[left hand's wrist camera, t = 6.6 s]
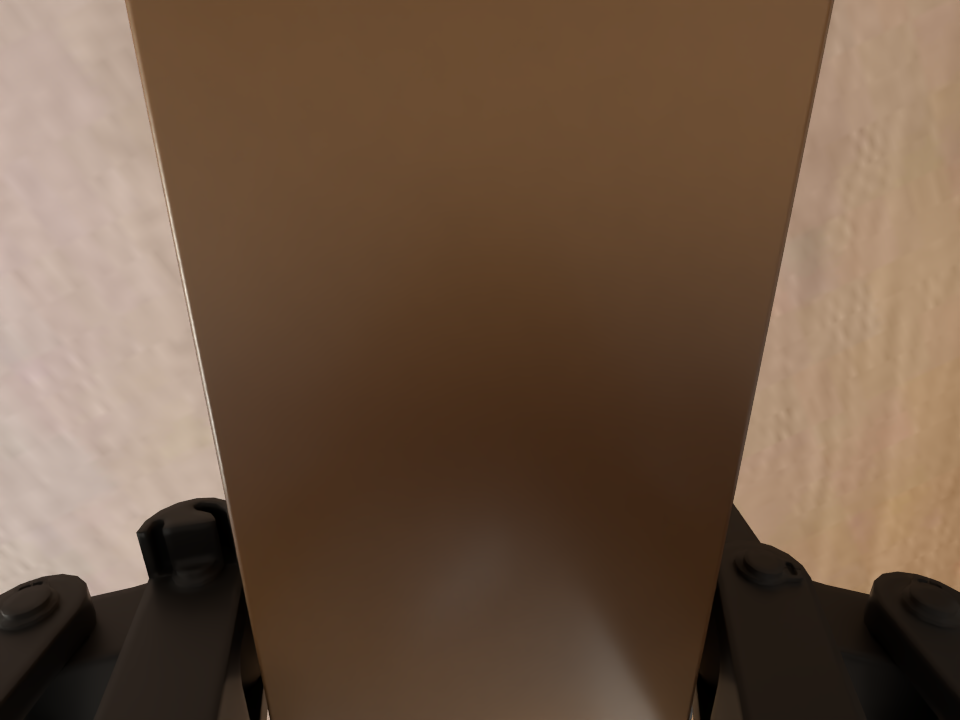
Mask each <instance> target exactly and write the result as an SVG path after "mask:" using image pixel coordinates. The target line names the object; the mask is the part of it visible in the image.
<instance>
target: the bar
mask: <svg viewBox="0 0 960 720" xmlns="http://www.w3.org/2000/svg"><path fill="white" fill-rule="evenodd" d="M125 3H126V8H127V13H128V18H129V23H130V28H131V33H132V38H133V43H134V48H135V53H136V58H137V62H138V67H139V72H140V77H141V82H142V87H143V92H144V97H145V102H146V107H147V112H148V117H149V122H150V127H151V132H152V137H153V142H154V147H155V152H156V157H157V162H158V167H159V171H160V176H161V181H162V186H163V191H164V196H165V201H166V206H167V211H168V216H169V221H170V226H171V231H172V236H173V241H174V246H175V251H176V256H177V261H178V266H179V271H180V276H181V280H182V285H183V290H184V295H185V300H186V305H187V310H188V315H189V320H190V325H191V330H192V335H193V340H194V345H195V350H196V355H197V360H198V365H199V370H200V375H201V380H202V385H203V389H204V394H205V399H206V404H207V409H208V414H209V419H210V424H211V429H212V434H213V439H214V444H215V449H216V454H217V459H218V464H219V469H220V474H221V479H222V484H223V489H224V494H225V498H226V503H227V508H228V513H229V518H230V523H231V528H232V533H233V538H234V543H235V548H236V553H237V558H238V563H239V568H240V573H241V578H242V583H243V588H244V593H245V598H246V603H247V607H248V612H249V617H250V622H251V627H252V632H253V637H254V642H255V647H256V652H257V657H258V662H259V667H260V672H261V677H262V682H263V687H264V692H265V697H266V702H267V707H268V712H269V716H270V720H689V718H690V713H691V708H692V703H693V698H694V693H695V688H696V683H697V678H698V674H699V669H700V664H701V659H702V654H703V649H704V644H705V639H706V634H707V629H708V624H709V619H710V614H711V609H712V604H713V599H714V594H715V589H716V584H717V579H718V574H719V569H720V564H721V559H722V554H723V549H724V544H725V539H726V535H727V530H728V525H729V520H730V515H731V510H732V505H733V500H734V495H735V490H736V485H737V480H738V475H739V470H740V465H741V460H742V455H743V450H744V445H745V440H746V435H747V430H748V425H749V420H750V415H751V410H752V405H753V400H754V396H755V391H756V386H757V381H758V376H759V371H760V366H761V361H762V356H763V351H764V346H765V341H766V336H767V331H768V326H769V321H770V316H771V311H772V306H773V301H774V296H775V291H776V286H777V281H778V276H779V271H780V266H781V261H782V257H783V252H784V247H785V242H786V237H787V232H788V227H789V222H790V217H791V212H792V207H793V202H794V197H795V192H796V187H797V182H798V177H799V172H800V167H801V162H802V157H803V152H804V147H805V142H806V137H807V132H808V127H809V123H810V118H811V113H812V108H813V103H814V98H815V93H816V88H817V83H818V78H819V73H820V68H821V63H822V58H823V53H824V48H825V43H826V38H827V33H828V28H829V23H830V18H831V13H832V8H833V3H834V0H125Z"/></svg>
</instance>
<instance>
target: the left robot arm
mask: <svg viewBox="0 0 960 720" xmlns="http://www.w3.org/2000/svg"><path fill="white" fill-rule="evenodd" d="M137 537H138V540H139V544H140V547H141V551H142V554H143V558H144V561H145V565H146V569H147V572H148V576H149V581H148V583H146V584H143V585H139V586H136V587H132V588H128V589H123V590H119V591H115V592H110V593H106V594H101V595H97V596H92V597H91V596H90V593H89V590H88V587H87V584H86V583H85V582H84V581H83V580H82V579H80V578H79V577H78V576H73V575H66V574H59V575H52V576H45V577H41V578H38V579H34V580H32V581H28V582H26V583H23V584H20V585H18V586H16V587H15V588H13V589H11V590H9V591H7V592H5V593H3V594H1V595H0V720H267V710H268V707H267V702H266V697H265V692H264V687H263V682H262V677H261V672H260V667H259V662H258V657H257V652H256V647H255V642H254V637H253V632H252V627H251V622H250V617H249V612H248V607H247V603H246V598H245V593H244V588H243V583H242V578H241V573H240V568H239V563H238V558H237V553H236V548H235V543H234V538H233V533H232V528H231V523H230V518H229V513H228V508H227V503H226V500H222V499H218V498H196V499H192V500H187V501H183V502H179V503H176V504H174V505H172V506H170V507H167V508H165V509H163V510H160V511H159V512H158V513H156V514H155V515H153V516H152V517H150V518H149V519H148V520H146V521H145V522H144V524H143V525H142V526H141V527H140V529H139V530H138V531H137ZM692 714H693V719H694V720H960V592H958V591H956V590H954V589H952V588H951V587H949V586H947V585H945V584H943V583H941V582H939V581H936V580H933V579H931V578H927V577H924V576H921V575H918V574H912V573H904V572H892V573H885V574H882V575H881V576H879V577H878V578H877V579H876V580H875V581H874V583H873V586H872V589H871V592H870V595H869V594H865V593H860V592H856V591H851V590H847V589H842V588H838V587H833V586H829V585H825V584H822V583H818V582H815V581H812V580H811V577H810V576H809V574H808V573H807V571H806V570H805V568H804V567H803V566H802V565H801V564H800V563H799V562H798V561H796V560H795V559H794V558H793V557H791V556H790V555H789V554H787V553H785V552H783V551H781V550H779V549H777V548H775V547H773V546H770V545H767V544H763V543H760V541H759V540H758V538H757V537H756V535H755V534H754V533H753V531H752V530H751V528H750V527H749V525H748V524H747V523H746V521H745V520H744V518H743V517H742V515H741V514H740V512H739V511H738V510H737V508H736V507H735V505H734V504H733V505H732V510H731V515H730V520H729V525H728V530H727V535H726V539H725V544H724V549H723V554H722V559H721V564H720V569H719V574H718V579H717V584H716V589H715V594H714V599H713V604H712V609H711V614H710V619H709V624H708V629H707V634H706V639H705V644H704V649H703V654H702V659H701V664H700V669H699V674H698V678H697V683H696V688H695V693H694V698H693V703H692V708H691V713H690V718H689V720H691V718H692Z"/></svg>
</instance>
